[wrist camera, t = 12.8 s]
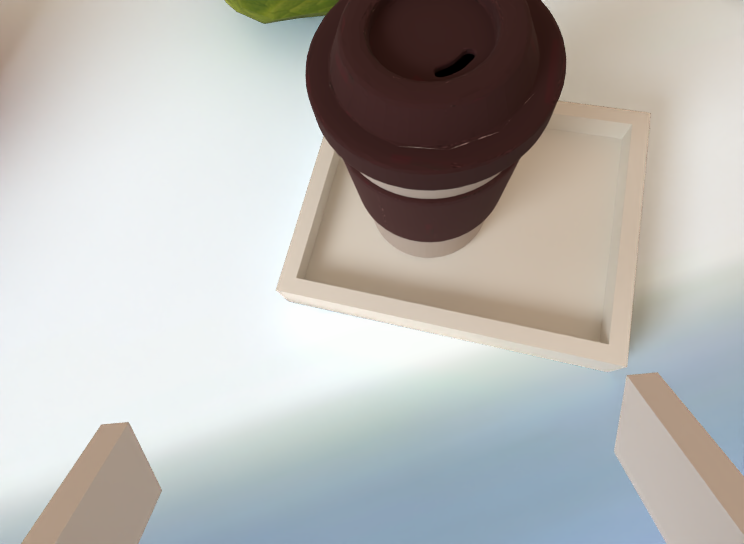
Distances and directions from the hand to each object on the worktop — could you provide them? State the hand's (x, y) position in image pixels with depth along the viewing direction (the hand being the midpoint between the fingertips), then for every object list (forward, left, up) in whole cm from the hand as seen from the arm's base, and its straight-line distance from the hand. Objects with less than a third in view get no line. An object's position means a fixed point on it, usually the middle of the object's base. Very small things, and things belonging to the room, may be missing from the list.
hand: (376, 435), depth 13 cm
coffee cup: (-1, +14, -15) cm, 20 cm away
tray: (+1, +14, -16) cm, 21 cm away
